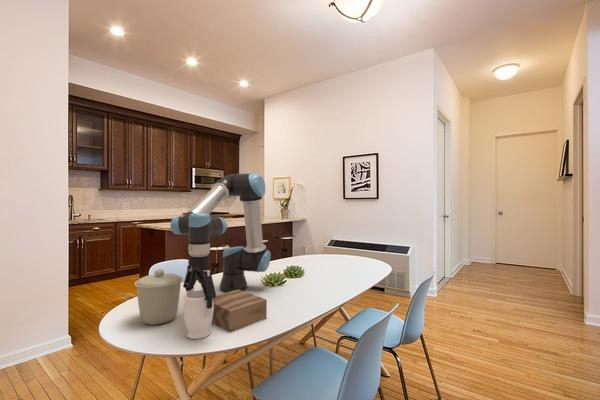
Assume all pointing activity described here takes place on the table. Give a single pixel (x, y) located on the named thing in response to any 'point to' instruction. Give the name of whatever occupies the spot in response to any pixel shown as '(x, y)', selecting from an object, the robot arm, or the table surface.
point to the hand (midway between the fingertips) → (198, 311)
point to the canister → (158, 297)
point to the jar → (196, 315)
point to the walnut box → (238, 310)
